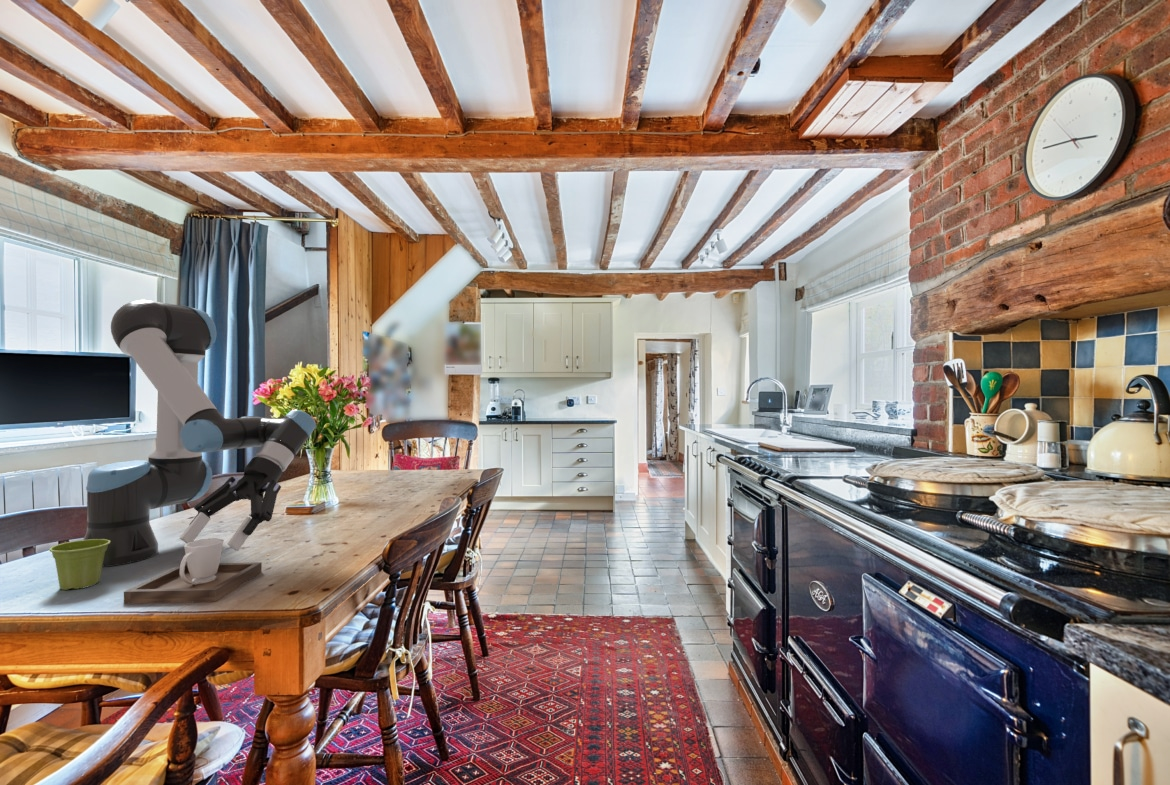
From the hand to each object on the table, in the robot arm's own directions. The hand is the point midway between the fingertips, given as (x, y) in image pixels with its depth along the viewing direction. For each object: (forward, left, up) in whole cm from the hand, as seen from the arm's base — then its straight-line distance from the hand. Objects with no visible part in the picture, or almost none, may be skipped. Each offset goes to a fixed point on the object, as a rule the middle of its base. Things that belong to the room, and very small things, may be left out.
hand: (208, 544), depth 113 cm
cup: (-2, -1, -8) cm, 8 cm away
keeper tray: (-2, -1, -9) cm, 9 cm away
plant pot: (-24, +12, -9) cm, 28 cm away
